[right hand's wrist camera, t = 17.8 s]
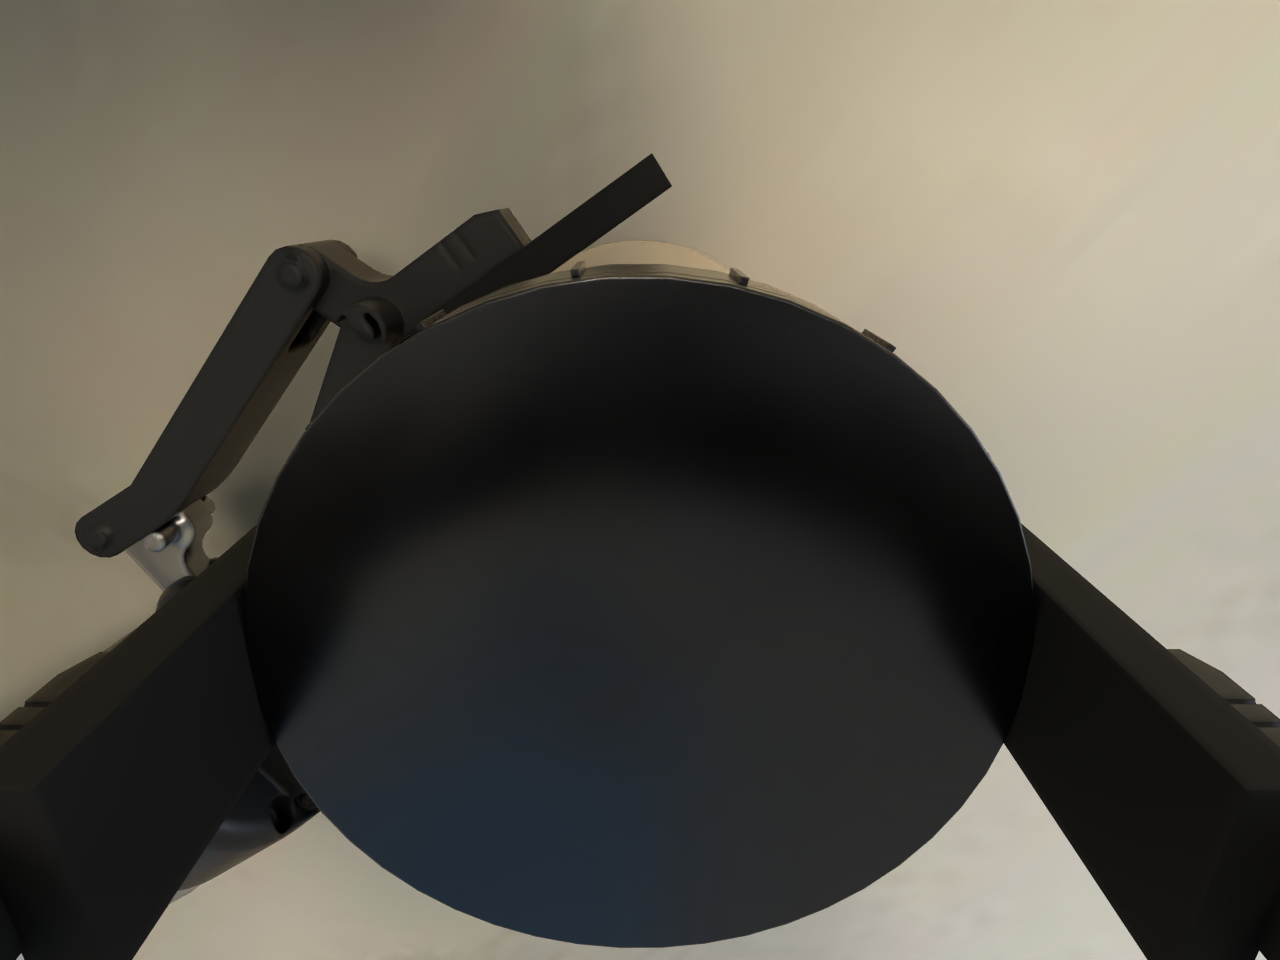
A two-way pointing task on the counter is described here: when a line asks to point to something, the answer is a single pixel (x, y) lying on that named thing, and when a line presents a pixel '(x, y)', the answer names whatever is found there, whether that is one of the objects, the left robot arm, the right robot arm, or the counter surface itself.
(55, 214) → the counter surface
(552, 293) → the lid
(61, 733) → the right robot arm
